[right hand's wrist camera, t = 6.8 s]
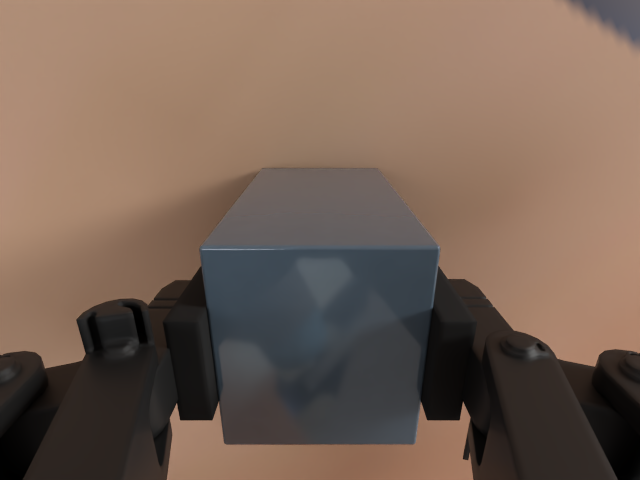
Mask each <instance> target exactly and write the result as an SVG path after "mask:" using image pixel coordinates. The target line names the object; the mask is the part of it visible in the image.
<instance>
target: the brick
mask: <svg viewBox="0 0 640 480" xmlns="http://www.w3.org/2000/svg"><path fill="white" fill-rule="evenodd" d="M199 251H200V259H201V266H202V274H203V282H204V290H205V298H206V305H207V313H208V320H209V328H210V336H211V344H212V352H213V359H214V367H215V375H216V383H217V391H218V398H219V407H220V415H221V422H222V430H223V438H224V443H225V444H227V445H413V444H415V443H416V436H417V428H418V420H419V412H420V405H421V396H422V389H423V381H424V373H425V365H426V357H427V349H428V342H429V334H430V326H431V318H432V310H433V303H434V295H435V287H436V280H437V272H438V264H439V256H440V246H439V245H438V243H437V242H436V241H435V240H434V238H433V237H432V236H431V234H430V233H429V232H428V231H427V229H426V228H425V227H424V226H423V224H422V223H421V222H420V221H419V219H418V218H417V217H416V216H415V214H414V213H413V212H412V211H411V209H410V208H409V207H408V206H407V204H406V203H405V202H404V201H403V199H402V198H401V197H400V196H399V194H398V193H397V192H396V191H395V189H394V188H393V187H392V185H391V184H390V183H389V182H388V180H387V179H386V178H385V177H384V175H383V174H382V173H381V172H380V170H379V169H377V168H262V169H261V170H260V171H259V173H258V174H257V175H256V176H255V178H254V179H253V180H252V181H251V183H250V184H249V185H248V186H247V188H246V189H245V190H244V192H243V193H242V194H241V195H240V197H239V198H238V199H237V200H236V202H235V203H234V204H233V205H232V207H231V208H230V209H229V210H228V212H227V213H226V214H225V215H224V217H223V218H222V219H221V220H220V222H219V223H218V224H217V225H216V227H215V228H214V229H213V230H212V232H211V233H210V234H209V235H208V237H207V238H206V239H205V240H204V242H203V243H202V244H201V245H200V248H199Z"/></svg>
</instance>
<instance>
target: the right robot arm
mask: <svg viewBox="0 0 640 480" xmlns="http://www.w3.org/2000/svg"><path fill="white" fill-rule="evenodd" d="M77 324H78V327H79V331H80V335H81V338H82V342H83V345H84V349H85V352H86V355H85V357H84V359H83V361H79V362H76V363H71V364H66V365H61V366H56V367H51V368H46V369H45V367H44V364H43V361H42V358H41V357H40V356H39V355H38V354H37V353H35V352H28V351H21V352H13V353H7V354H3V355H0V480H167V472H168V465H169V457H170V449H171V441H172V429H171V423H170V416H171V414H172V412H173V410H174V408H175V405H176V403H177V405H178V411H179V416H180V420H213V417H214V414H215V411H216V408H217V405H218V402H219V398H218V391H217V383H216V375H215V367H214V359H213V352H212V344H211V336H210V328H209V320H208V313H207V305H206V298H205V290H204V282H203V274H202V266H201V267H200V268H199V270H198V271H197V273H196V274H195V276H194V277H193V278H192V280H175V281H174V282H172V283H170V284H169V285H167V286H166V287H164V288H162V289H161V290H160V292H159V293H158V294H157V295H156V297H155V298H154V300H152V301H151V303H150V304H149V305H147V304H146V303H145V302H143V301H142V300H137V299H118V300H113V301H108V302H105V303H102V304H99V305H97V306H94V307H92V308H90V309H89V310H87V311H85V312H84V313H82V314H81V316H80V317H79V318H78V319H77ZM463 402H464V404H465V406H466V408H467V410H468V413H469V415H470V417H471V418H470V423H469V428H468V433H467V438H466V444H465V449H464V455H463V459H465V460H468V458H469V453H470V456H471V464H472V472H473V479H474V480H640V353H639V354H638V353H637V352H633V351H625V350H617V349H614V350H607V351H604V352H603V353H601V354H600V355H599V357H598V360H597V363H596V366H595V367H593V366H588V365H583V364H578V363H573V362H568V361H563V360H559V359H557V358H556V356H555V354H554V353H553V351H552V350H551V349H550V348H549V346H548V345H546V344H545V343H543V342H542V341H540V340H539V339H537V338H535V337H533V336H530V335H528V334H526V333H522V332H517V331H514V330H513V329H512V328H511V327H510V326H509V324H508V323H507V322H506V321H505V320H504V318H503V317H502V316H501V315H500V313H499V312H498V311H497V310H496V309H495V307H493V305H492V304H491V303H490V301H489V300H488V299H486V296H485V295H484V294H483V293H482V292H481V290H480V289H479V288H478V287H476V286H475V285H473V284H472V283H470V282H468V281H467V280H465V279H447V277H446V276H445V275H444V273H443V272H442V270H441V269H440V267H439V266H438V272H437V280H436V287H435V295H434V303H433V310H432V318H431V326H430V334H429V342H428V349H427V357H426V365H425V373H424V381H423V389H422V396H421V403H422V406H423V409H424V412H425V415H426V418H427V420H460V415H461V409H462V404H463Z"/></svg>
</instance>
